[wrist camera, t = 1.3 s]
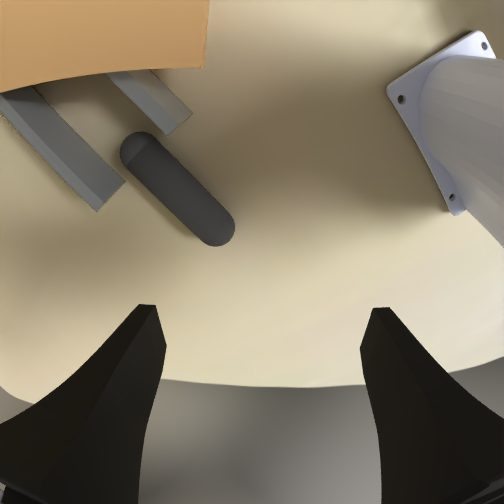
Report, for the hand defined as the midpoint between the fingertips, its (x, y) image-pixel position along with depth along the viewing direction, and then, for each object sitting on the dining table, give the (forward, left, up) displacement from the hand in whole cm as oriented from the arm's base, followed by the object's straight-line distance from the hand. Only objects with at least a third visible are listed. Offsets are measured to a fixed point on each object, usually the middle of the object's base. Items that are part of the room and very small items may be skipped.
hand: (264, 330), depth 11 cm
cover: (+14, -1, -6) cm, 16 cm away
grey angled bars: (+13, +3, -10) cm, 16 cm away
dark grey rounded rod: (+4, +3, -10) cm, 11 cm away
